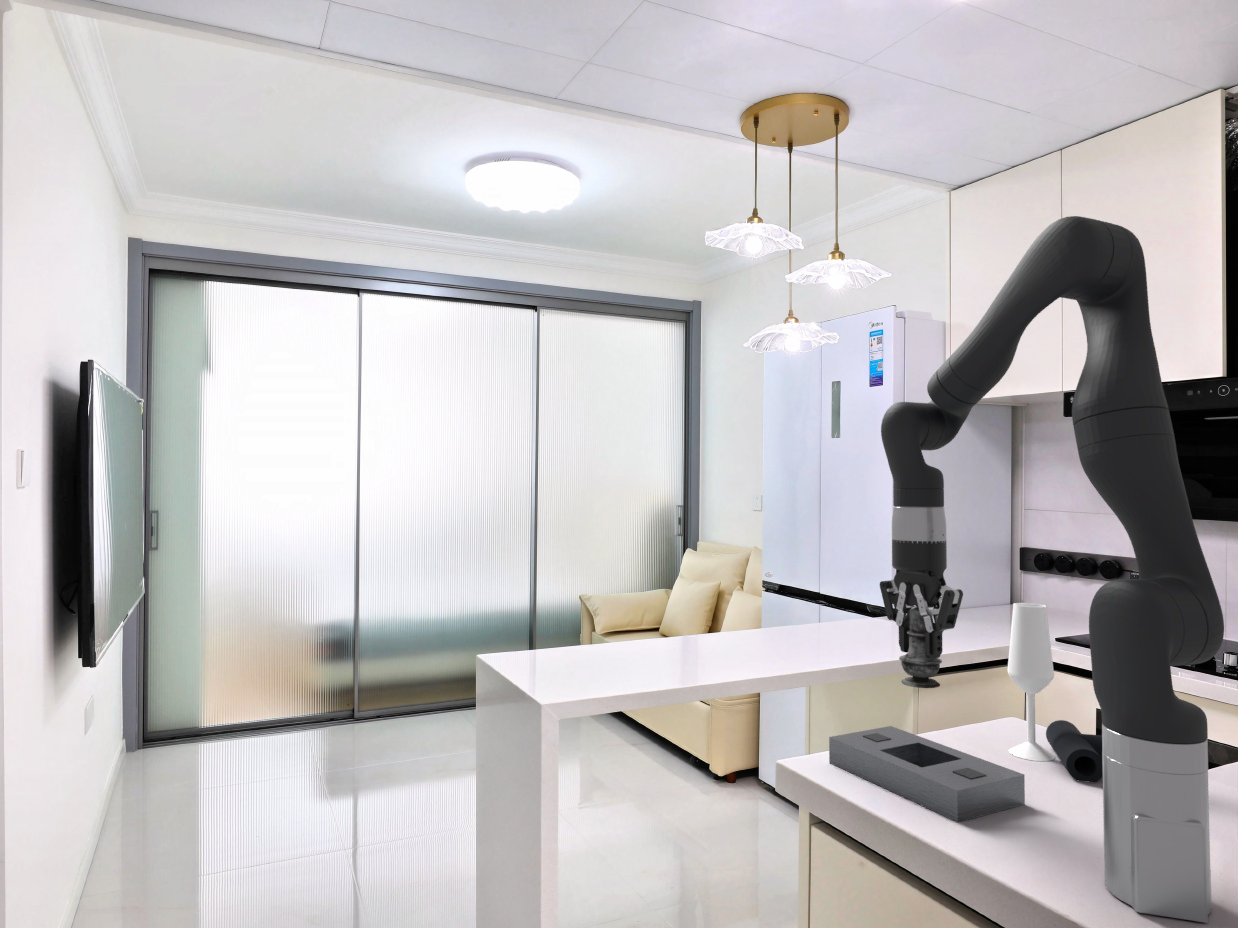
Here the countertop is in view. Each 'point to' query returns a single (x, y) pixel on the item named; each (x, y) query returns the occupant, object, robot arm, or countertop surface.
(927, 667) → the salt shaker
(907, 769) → the gray slotted block
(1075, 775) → the pipe connector
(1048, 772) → the countertop surface
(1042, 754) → the champagne flute
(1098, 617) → the robot arm
